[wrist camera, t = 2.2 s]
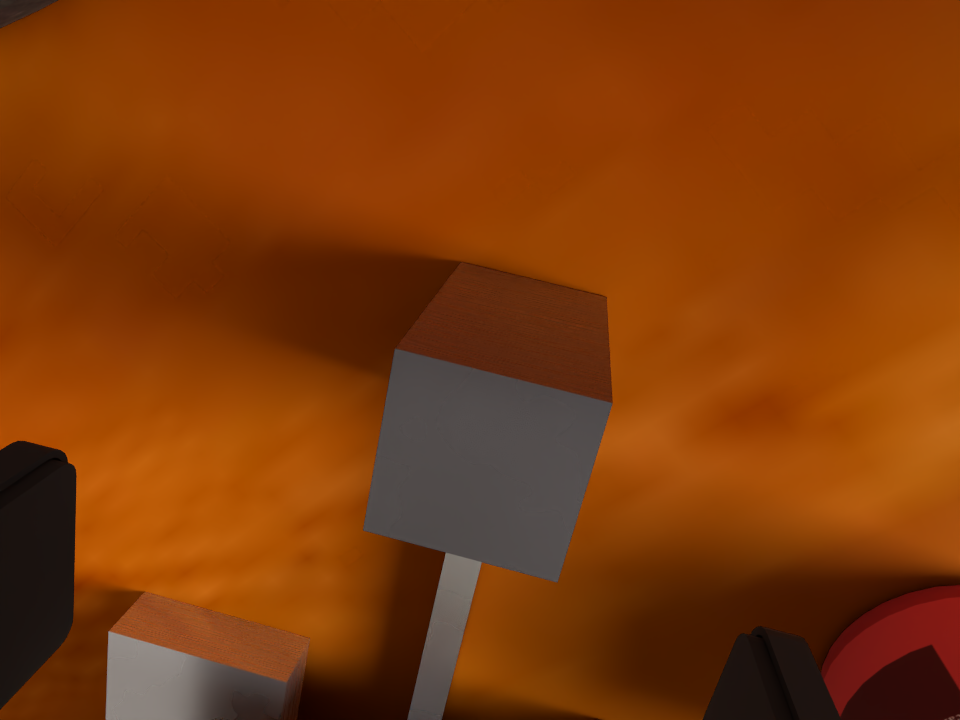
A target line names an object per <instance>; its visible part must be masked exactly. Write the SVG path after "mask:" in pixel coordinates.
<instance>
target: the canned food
mask: <svg viewBox="0 0 960 720" xmlns="http://www.w3.org/2000/svg"><path fill="white" fill-rule="evenodd" d="M821 675H822V677H823V680H824V682H825V684H826V686H827V689H828V691H829V693H830V695H831V698H832V700H833V702H834V704H835V707H836V709H837V711H838V713H839V716H840V718H841V720H960V585H952V586H940V587H933V588H928V589H924V590H919V591H915V592H911V593H907V594H904V595H902V596H899V597H897V598H894V599H892V600H889V601H886V602H884V603H882V604H880V605H879V606H877V607H875V608H873V609H872V610H870V611H868V612H867V613H865V614H863V615H862V616H860V617H859V618H858V619H857V620H856V621H854V622H853V623H852V624H851V625H850V626H849V627H847V628H846V629H845V630H844V631H843V632H842V634H841V635H840V636H839V637H838V639H837V640H836V641H835V643H834V644H833V645H832V646H831V648H830V650H829V652H828V654H827V656H826V659H825V661H824V663H823V665H822V670H821Z"/></svg>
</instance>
